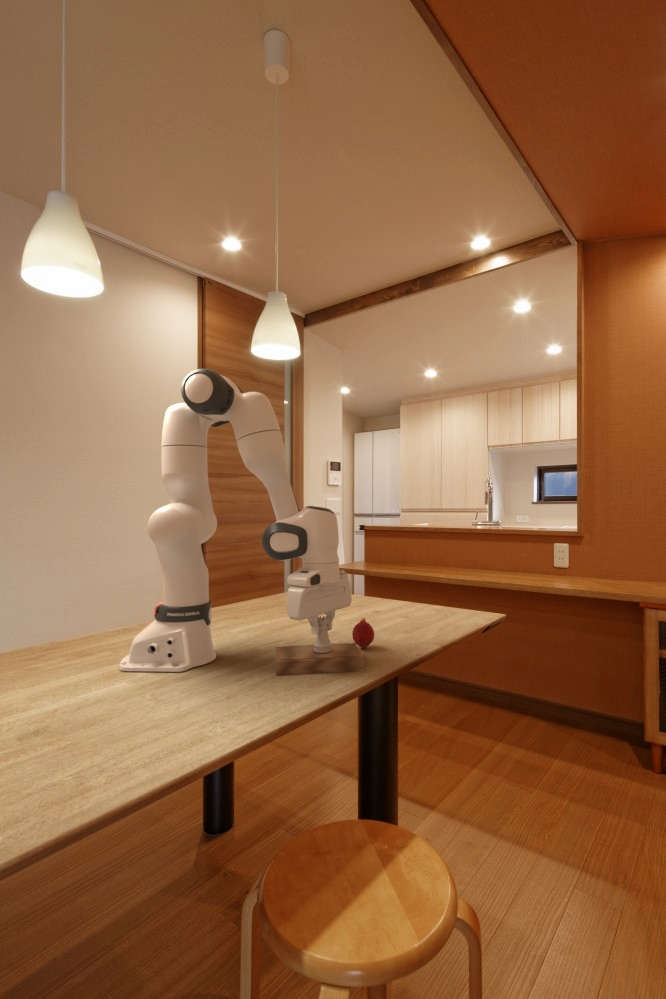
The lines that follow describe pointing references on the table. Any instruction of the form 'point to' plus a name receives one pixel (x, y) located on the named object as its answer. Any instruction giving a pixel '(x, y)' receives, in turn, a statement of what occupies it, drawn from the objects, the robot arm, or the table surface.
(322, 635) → the rook chess piece
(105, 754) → the table surface
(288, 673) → the walnut board
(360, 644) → the onion
